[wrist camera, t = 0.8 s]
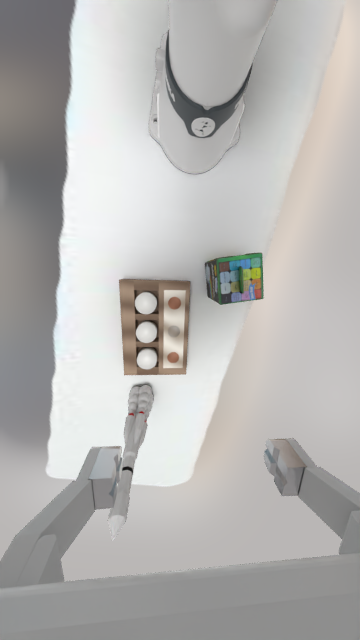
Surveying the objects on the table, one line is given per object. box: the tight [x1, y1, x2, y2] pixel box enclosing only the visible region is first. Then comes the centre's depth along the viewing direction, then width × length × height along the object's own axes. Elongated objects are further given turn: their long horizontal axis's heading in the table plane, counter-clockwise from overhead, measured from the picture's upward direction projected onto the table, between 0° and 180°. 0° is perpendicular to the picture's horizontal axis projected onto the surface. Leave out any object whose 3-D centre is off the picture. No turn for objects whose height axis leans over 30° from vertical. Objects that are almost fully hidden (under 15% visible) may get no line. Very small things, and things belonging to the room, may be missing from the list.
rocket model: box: [108, 385, 154, 540], centre depth 38 cm, size 7×7×30 cm
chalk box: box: [205, 253, 263, 305], centre depth 38 cm, size 9×9×15 cm
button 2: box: [135, 292, 157, 314], centre depth 41 cm, size 5×5×3 cm
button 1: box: [137, 347, 157, 369], centre depth 45 cm, size 5×5×3 cm
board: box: [119, 279, 190, 375], centre depth 45 cm, size 24×16×4 cm, turn 178°
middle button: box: [136, 320, 157, 343], centre depth 43 cm, size 5×5×3 cm
